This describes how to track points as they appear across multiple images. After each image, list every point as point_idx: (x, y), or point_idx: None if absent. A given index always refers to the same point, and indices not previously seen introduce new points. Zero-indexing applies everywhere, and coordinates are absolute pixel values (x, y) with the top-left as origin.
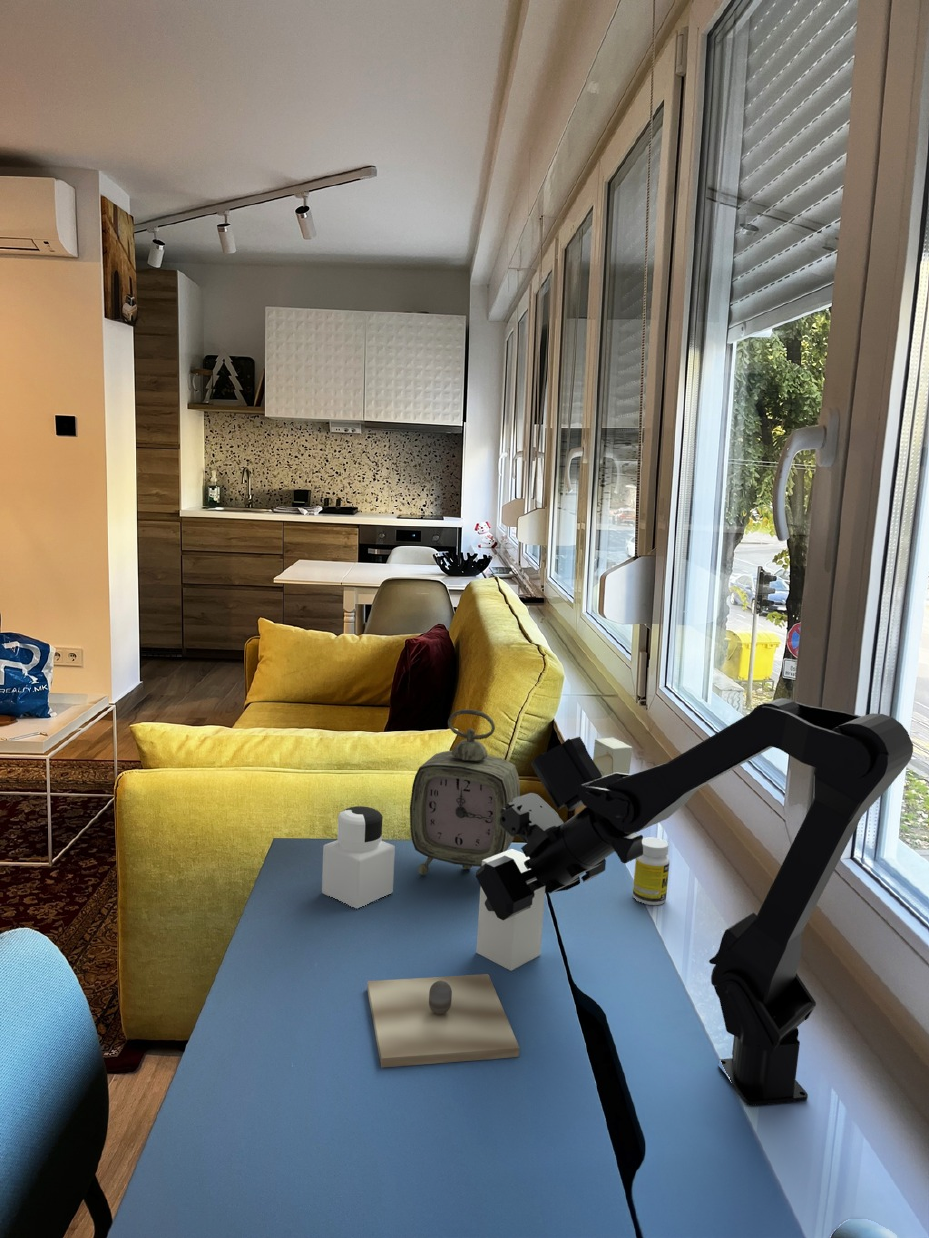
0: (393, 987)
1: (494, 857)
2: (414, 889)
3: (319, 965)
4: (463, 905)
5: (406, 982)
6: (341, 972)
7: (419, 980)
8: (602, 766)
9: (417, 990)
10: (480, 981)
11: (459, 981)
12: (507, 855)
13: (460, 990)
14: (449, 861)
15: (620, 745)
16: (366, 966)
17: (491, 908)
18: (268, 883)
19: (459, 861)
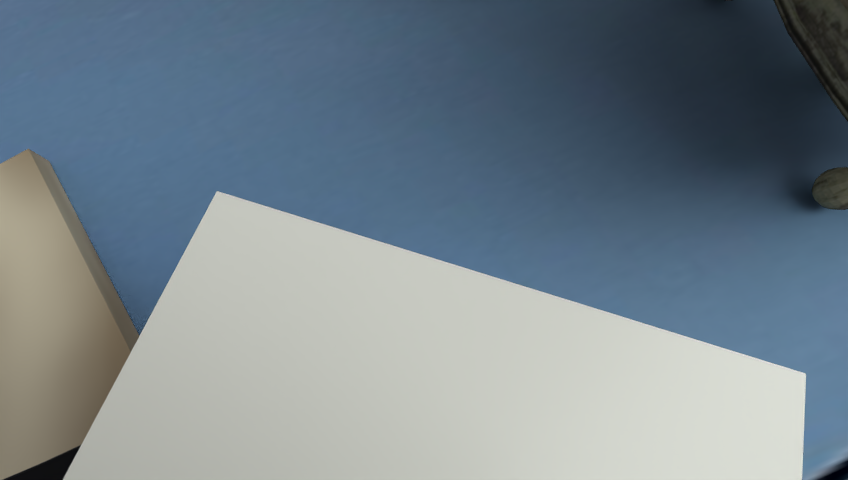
0: (10, 222)
1: (373, 284)
2: (625, 17)
3: (127, 23)
4: (636, 168)
5: (50, 241)
6: (112, 75)
7: (73, 269)
8: None
9: (12, 290)
10: None
11: (103, 387)
12: (538, 416)
13: (47, 416)
14: (782, 9)
15: None
16: (161, 108)
17: None
18: None
19: (806, 35)
